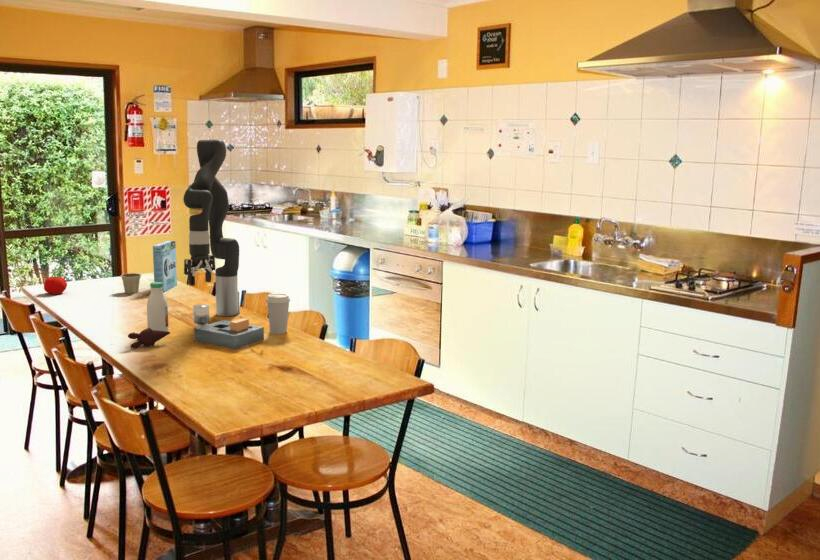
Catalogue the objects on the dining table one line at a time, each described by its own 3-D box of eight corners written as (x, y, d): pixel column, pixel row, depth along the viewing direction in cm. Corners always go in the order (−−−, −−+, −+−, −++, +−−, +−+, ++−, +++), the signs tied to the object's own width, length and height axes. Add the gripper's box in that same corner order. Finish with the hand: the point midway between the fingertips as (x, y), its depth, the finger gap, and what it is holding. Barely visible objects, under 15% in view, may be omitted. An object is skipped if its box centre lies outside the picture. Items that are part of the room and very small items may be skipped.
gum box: (163, 292, 366) (162, 246, 362) (153, 292, 366) (151, 245, 362) (177, 285, 385) (176, 240, 381) (167, 284, 385) (166, 240, 381)
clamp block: (242, 326, 284) (242, 318, 283) (248, 328, 283) (248, 319, 282) (230, 330, 278) (229, 321, 277) (236, 331, 277) (236, 323, 276)
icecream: (164, 323, 281) (124, 332, 272) (171, 322, 275) (130, 331, 266) (168, 341, 281) (128, 351, 272) (175, 341, 275) (134, 351, 266)
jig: (224, 332, 295) (223, 318, 294) (263, 339, 286) (263, 325, 285) (194, 341, 281) (194, 326, 280) (235, 349, 272) (235, 334, 271)
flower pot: (137, 294, 359) (137, 277, 358) (118, 294, 359) (117, 276, 358) (144, 290, 368) (144, 273, 367) (125, 290, 369) (125, 273, 367)
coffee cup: (261, 331, 297) (260, 295, 295) (280, 328, 304) (280, 291, 302) (275, 336, 291) (275, 299, 288) (295, 332, 298) (295, 295, 295)
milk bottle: (162, 336, 287) (160, 285, 283) (143, 334, 289) (141, 283, 285) (172, 331, 295) (170, 281, 291) (154, 329, 296) (152, 280, 292)
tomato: (40, 293, 355) (39, 276, 354) (60, 290, 363) (59, 273, 362) (51, 296, 350) (49, 279, 348) (71, 293, 358) (70, 276, 357)
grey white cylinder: (201, 330, 297) (200, 303, 295) (212, 332, 294) (212, 305, 292) (190, 333, 292) (189, 306, 290) (201, 336, 289) (201, 308, 287)
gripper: (205, 239, 294) (206, 280, 297) (178, 243, 282) (179, 285, 285) (219, 241, 291) (220, 282, 294) (193, 245, 278) (194, 287, 281)
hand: (200, 283), depth 289 cm, fingers open, 8 cm apart
